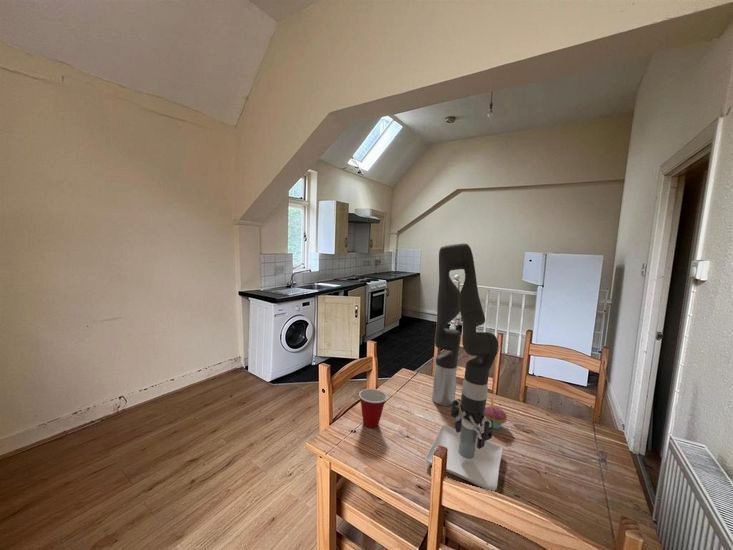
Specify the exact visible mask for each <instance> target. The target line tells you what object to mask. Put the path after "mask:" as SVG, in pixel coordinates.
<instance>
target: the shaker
mask: <svg viewBox="0 0 733 550" xmlns="http://www.w3.org/2000/svg"><path fill="white" fill-rule="evenodd" d="M461 423H462V425H461V433H460V442H459V450H458V452H459V454H460V455H461V456H462V457H464V458H467V459H472V458H473V457H474V455H475V447H476V439H477V437H478V434H477V432H476V431H475V429H474V427H473V424H472V423H471V422H470V421H468V420H467V419H465V418H464V417H463V418H462V422H461ZM477 426H478V427H479V426H480V424H477Z"/></svg>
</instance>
